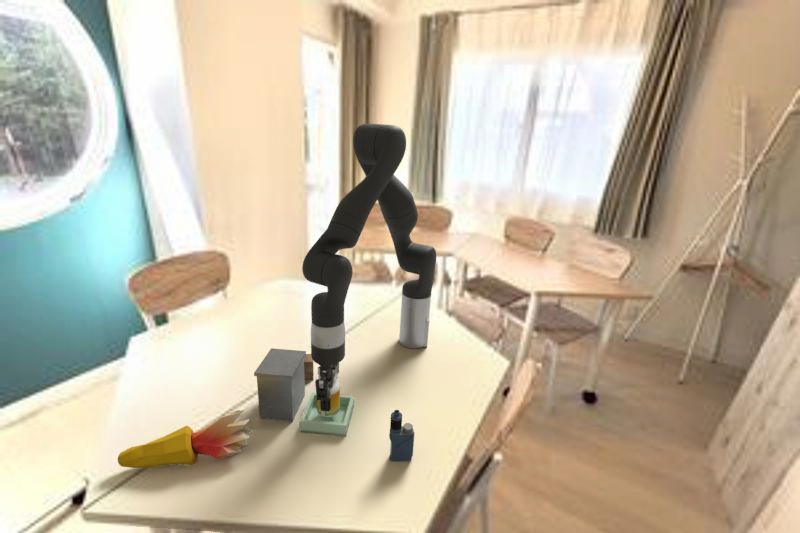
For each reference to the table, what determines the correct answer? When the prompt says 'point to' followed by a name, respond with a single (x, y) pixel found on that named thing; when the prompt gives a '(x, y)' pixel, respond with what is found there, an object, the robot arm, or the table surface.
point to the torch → (190, 444)
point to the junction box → (281, 384)
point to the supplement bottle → (332, 400)
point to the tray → (327, 418)
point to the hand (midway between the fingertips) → (328, 401)
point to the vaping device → (400, 438)
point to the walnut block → (308, 367)
